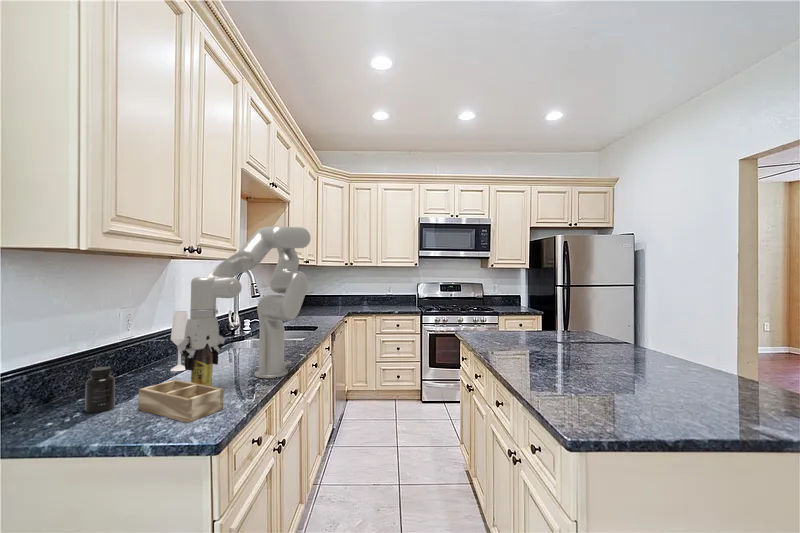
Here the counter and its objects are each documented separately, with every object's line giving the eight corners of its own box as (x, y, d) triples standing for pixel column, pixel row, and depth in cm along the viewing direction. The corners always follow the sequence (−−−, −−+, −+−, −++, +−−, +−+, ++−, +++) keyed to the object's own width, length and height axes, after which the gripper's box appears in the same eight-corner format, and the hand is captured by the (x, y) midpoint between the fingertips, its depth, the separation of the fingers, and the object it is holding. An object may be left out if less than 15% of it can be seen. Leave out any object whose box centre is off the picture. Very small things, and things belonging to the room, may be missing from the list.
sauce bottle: (186, 395, 125) (187, 334, 125) (203, 390, 130) (205, 332, 131) (199, 398, 122) (200, 336, 122) (216, 393, 127) (217, 333, 127)
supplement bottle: (83, 409, 112) (84, 368, 112) (112, 403, 116) (113, 364, 117) (86, 415, 107) (87, 372, 107) (116, 409, 111) (117, 368, 112)
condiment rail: (175, 398, 122) (176, 379, 122) (223, 409, 113) (223, 388, 113) (138, 409, 111) (138, 389, 112) (187, 422, 102) (187, 400, 102)
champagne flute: (173, 367, 161) (174, 310, 162) (190, 366, 163) (192, 310, 163) (167, 371, 155) (168, 312, 155) (185, 370, 156) (186, 312, 157)
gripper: (217, 311, 136) (216, 360, 135) (170, 316, 120) (169, 371, 120) (232, 312, 133) (231, 362, 132) (186, 317, 117) (184, 374, 117)
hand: (201, 366), depth 126 cm, fingers open, 8 cm apart
